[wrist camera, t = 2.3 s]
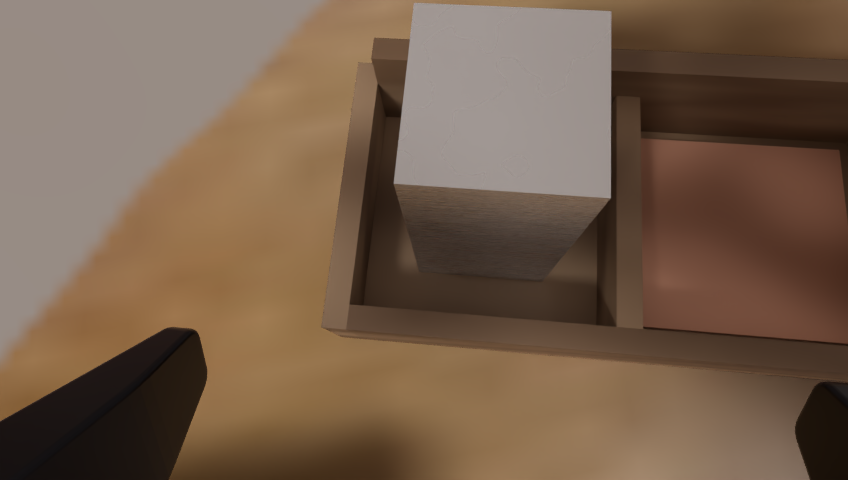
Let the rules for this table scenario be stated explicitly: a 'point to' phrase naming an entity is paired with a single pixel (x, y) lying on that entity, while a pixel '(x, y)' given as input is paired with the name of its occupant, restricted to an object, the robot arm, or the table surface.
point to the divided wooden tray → (636, 227)
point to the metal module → (503, 136)
